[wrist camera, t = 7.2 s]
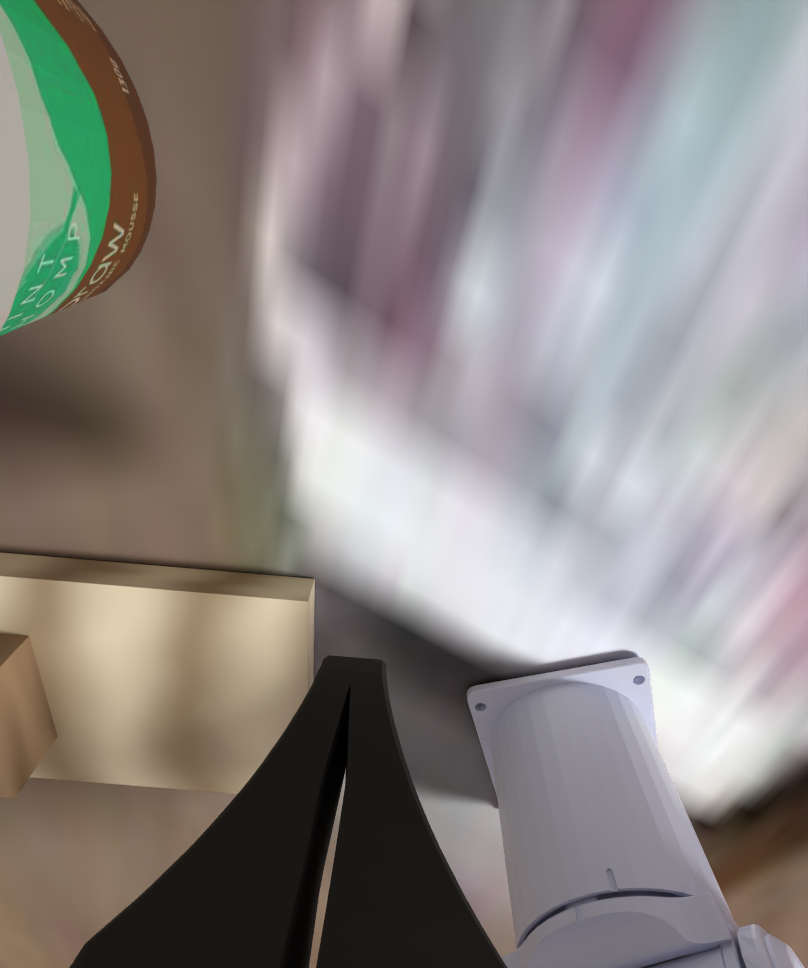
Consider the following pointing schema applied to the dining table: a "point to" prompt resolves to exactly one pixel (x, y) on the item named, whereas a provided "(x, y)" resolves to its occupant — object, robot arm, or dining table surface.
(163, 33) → the dining table surface
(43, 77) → the food container
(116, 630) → the board
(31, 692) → the tan cardboard box
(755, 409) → the dining table surface
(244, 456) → the dining table surface
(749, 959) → the robot arm
